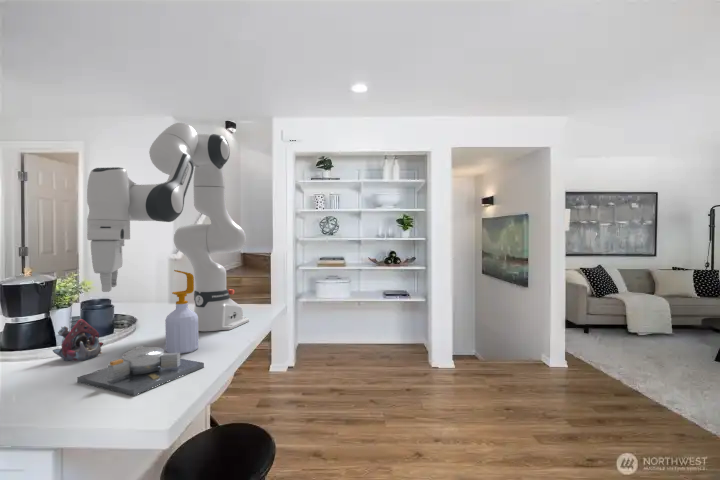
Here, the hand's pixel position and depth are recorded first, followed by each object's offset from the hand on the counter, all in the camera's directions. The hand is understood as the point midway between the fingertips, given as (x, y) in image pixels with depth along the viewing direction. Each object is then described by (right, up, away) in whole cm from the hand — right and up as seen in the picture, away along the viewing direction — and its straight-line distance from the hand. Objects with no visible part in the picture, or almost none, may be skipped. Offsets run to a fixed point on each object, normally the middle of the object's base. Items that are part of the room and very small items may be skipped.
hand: (109, 289), depth 95 cm
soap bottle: (+7, -22, +24) cm, 33 cm away
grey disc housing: (+6, -21, +2) cm, 21 cm away
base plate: (+6, -22, +3) cm, 23 cm away
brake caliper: (-20, -22, +17) cm, 34 cm away
